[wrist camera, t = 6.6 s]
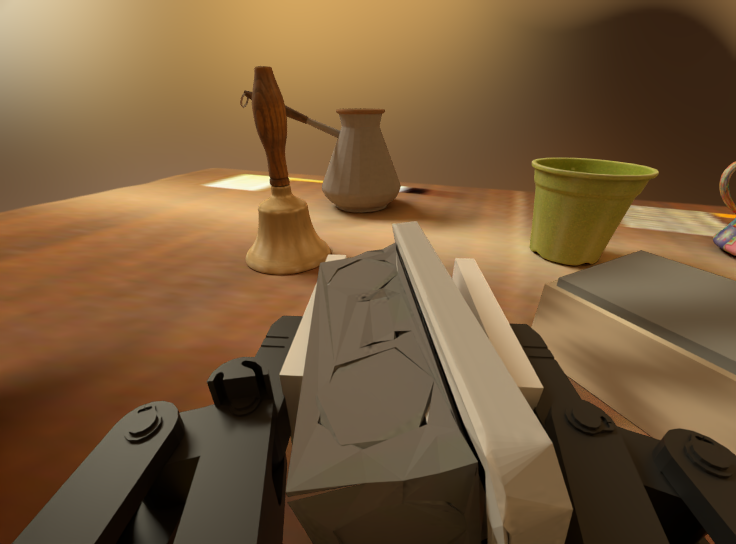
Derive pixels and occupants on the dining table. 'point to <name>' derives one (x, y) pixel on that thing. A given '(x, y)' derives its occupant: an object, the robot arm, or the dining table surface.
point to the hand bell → (280, 194)
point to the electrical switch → (415, 415)
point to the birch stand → (648, 342)
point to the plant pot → (581, 205)
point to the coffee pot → (356, 161)
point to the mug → (732, 236)
